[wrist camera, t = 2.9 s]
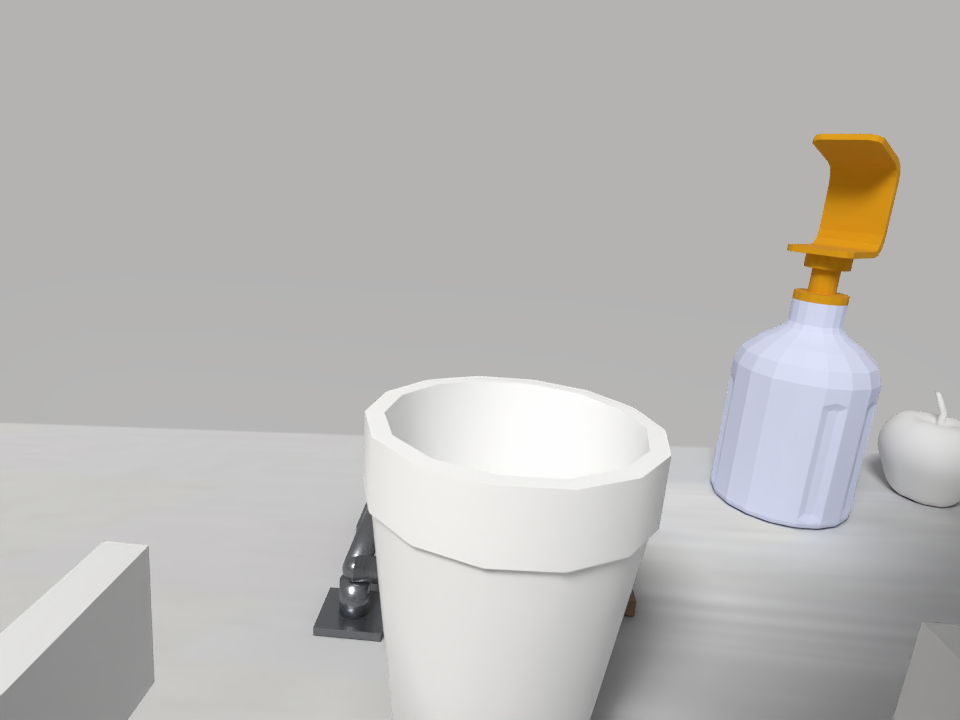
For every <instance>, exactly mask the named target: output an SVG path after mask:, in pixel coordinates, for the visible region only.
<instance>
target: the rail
mask: <svg viewBox="0 0 960 720" xmlns="http://www.w3.org/2000/svg"><path fill="white" fill-rule="evenodd" d="M374 554H375V541H374V531H373V521H372V515H371V514H370V513H369V510H368V505H367V503H366V505H365V507H364V510H363V512H362V514H361V517H360V519H359V521H358V524H357V529H356V535H355V537H354V539H353V542H352V544H351V547H350V549H349V551H348V554H347V556H346V559H345V561H344V563H343V568H342V570H343V575H342V576H341V578H340V588H330V590H329V592H328V594H327V597H326V599H325V602H324V604H323V606H322V609H321V611H320V613H319V616H318V618H317V620H316V623H315V625H314V628H313V635H318V636H329V637H340V638H350V639H361V640H372V641H380V640H381V636H382V633H383V621H382V611H381V601H380V592H374V591H370V586H371V583H373V584H379V581H378V571H377V561H376V556H374Z"/></svg>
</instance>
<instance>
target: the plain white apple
mask: <svg viewBox="0 0 960 720" xmlns="http://www.w3.org/2000/svg"><path fill="white" fill-rule="evenodd" d="M935 394H936V398H937V402H938V406H939V411H940V414H939V415H937V414H933V413H929V412H917V411H903V412H900V413H898V414H896V415H894V416H893V417H891V418H890V419H889V420H888V421H887V422H886V423H885V425H884V426H883V428H882V429H881V431H880V434H879V437H878V450H879V455H880V458H881V462H882V466H883V469H884V473H885V476H886V479H887V481H888V483H889V485H890V486H891V487H892V488H893V489H894V490H895V491H896V492H897V493H899V494H900V495H902V496H905V497H907V498H909V499H911V500H913V501H916V502H918V503H921V504H925V505H931V506H936V507H948V506H951V505H954V504H956V503H958V502H959V501H960V420H958V419H955V418H950V417H947V415H948V414H947V410H946V407H945V404H944V400H943V397H942V394H941V393H940V392H935Z"/></svg>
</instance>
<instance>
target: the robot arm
mask: <svg viewBox="0 0 960 720" xmlns="http://www.w3.org/2000/svg"><path fill="white" fill-rule="evenodd" d="M153 683H154V660H153V637H152V613H151V590H150V567H149V545H139V544H129V543H119V542H108V541H103V542H102V543H101V544H100V545H99V546H98V547H97V548H96V549H94V550H93V551H92V552H91V553H90V554H89V555H88V556H87V557H85V558H84V559H83V560H82V561H81V562H80V563H79V564H78V565H76V566H75V567H74V568H73V569H72V570H71V571H70V572H69V573H68V574H66V575H65V576H64V577H63V578H62V579H61V580H60V581H59V582H57V583H56V584H55V585H54V586H53V587H52V588H51V589H50V590H48V591H47V592H46V593H45V594H44V595H43V596H42V597H41V598H39V599H38V600H37V601H36V602H35V603H34V604H33V605H32V606H30V607H29V608H28V609H27V610H26V611H25V612H24V613H23V614H21V615H20V616H19V617H18V618H17V619H16V620H15V621H14V622H12V623H11V624H10V625H9V626H8V627H7V628H6V629H5V630H3V631H2V632H1V633H0V720H128V718H129V717H130V716H131V714H132V713H133V711H134V710H135V709H136V707H137V706H138V704H139V703H140V701H141V700H142V699H143V697H144V696H145V694H146V693H147V691H148V690H149V689H150V687H151V686H152V684H153ZM893 720H960V625H954V624H944V623H934V622H923V621H922V624H921V627H920V630H919V634H918V637H917V640H916V644H915V647H914V650H913V654H912V657H911V660H910V664H909V667H908V670H907V674H906V677H905V680H904V684H903V687H902V690H901V694H900V697H899V700H898V704H897V707H896V710H895V713H894V717H893Z"/></svg>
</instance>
